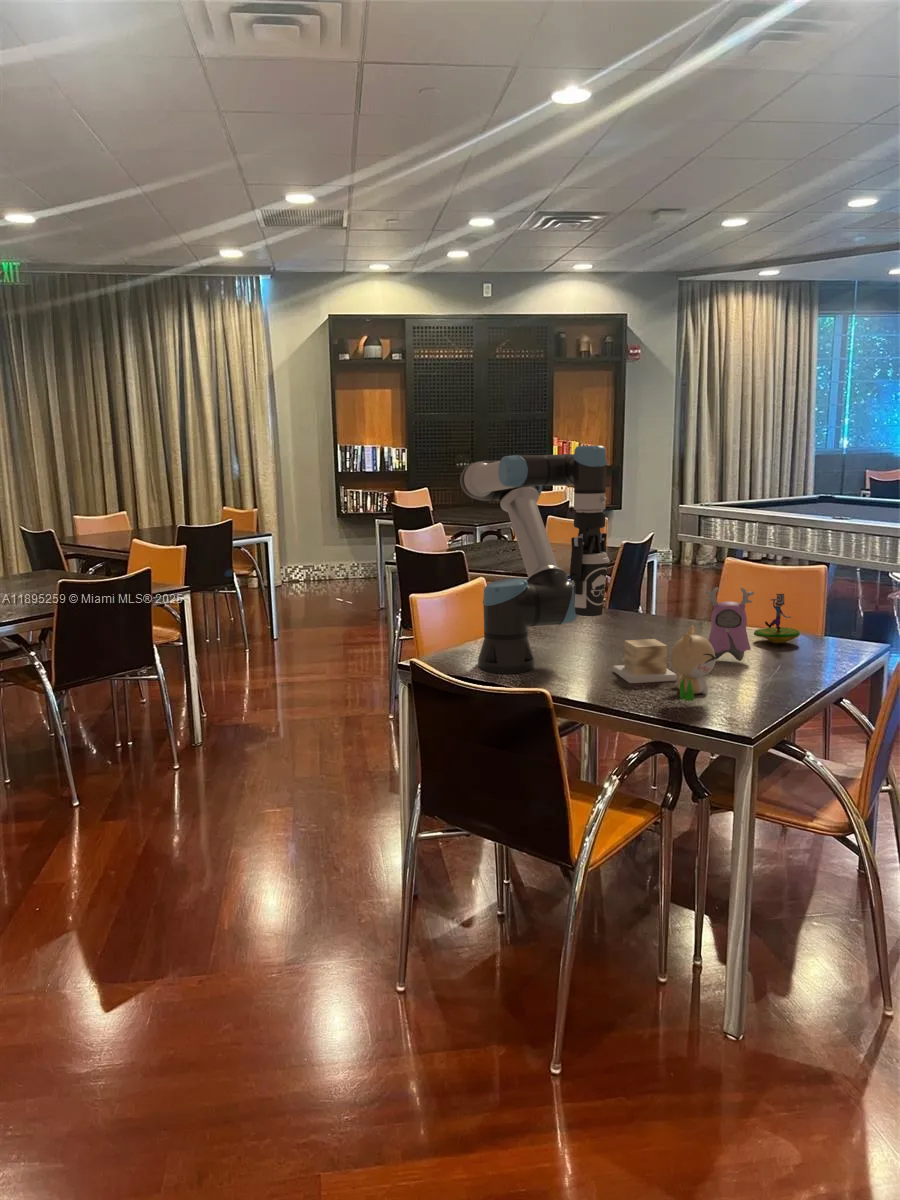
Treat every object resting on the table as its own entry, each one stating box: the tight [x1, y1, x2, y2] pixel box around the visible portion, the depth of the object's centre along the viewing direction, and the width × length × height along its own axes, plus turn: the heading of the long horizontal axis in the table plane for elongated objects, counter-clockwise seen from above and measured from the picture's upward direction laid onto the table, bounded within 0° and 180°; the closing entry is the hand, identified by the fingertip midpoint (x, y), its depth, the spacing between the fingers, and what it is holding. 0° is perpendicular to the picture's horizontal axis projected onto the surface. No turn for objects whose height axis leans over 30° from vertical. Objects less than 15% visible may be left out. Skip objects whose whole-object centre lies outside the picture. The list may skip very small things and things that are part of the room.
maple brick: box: [623, 638, 668, 675], centre depth 205 cm, size 8×8×7 cm
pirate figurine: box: [753, 593, 801, 644], centre depth 239 cm, size 14×13×15 cm
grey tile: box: [613, 664, 678, 684], centre depth 206 cm, size 12×12×2 cm
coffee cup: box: [569, 551, 611, 617], centre depth 199 cm, size 10×10×15 cm
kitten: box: [670, 625, 717, 702], centre depth 189 cm, size 15×10×15 cm
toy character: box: [705, 586, 755, 662], centre depth 218 cm, size 12×10×20 cm
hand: (588, 604), depth 200 cm, fingers closed on coffee cup, 8 cm apart
